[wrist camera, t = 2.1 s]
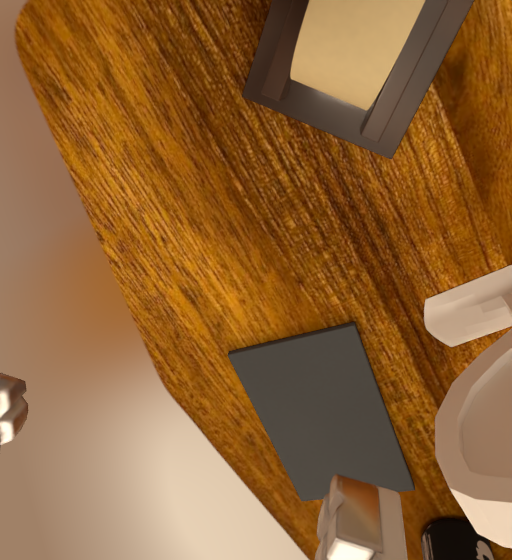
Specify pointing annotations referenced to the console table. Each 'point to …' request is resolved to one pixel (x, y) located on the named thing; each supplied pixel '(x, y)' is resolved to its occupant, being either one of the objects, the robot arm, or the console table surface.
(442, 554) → the beverage can
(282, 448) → the mat
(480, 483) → the heart sculpture
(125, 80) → the console table surface
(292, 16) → the tape holder
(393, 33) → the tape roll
